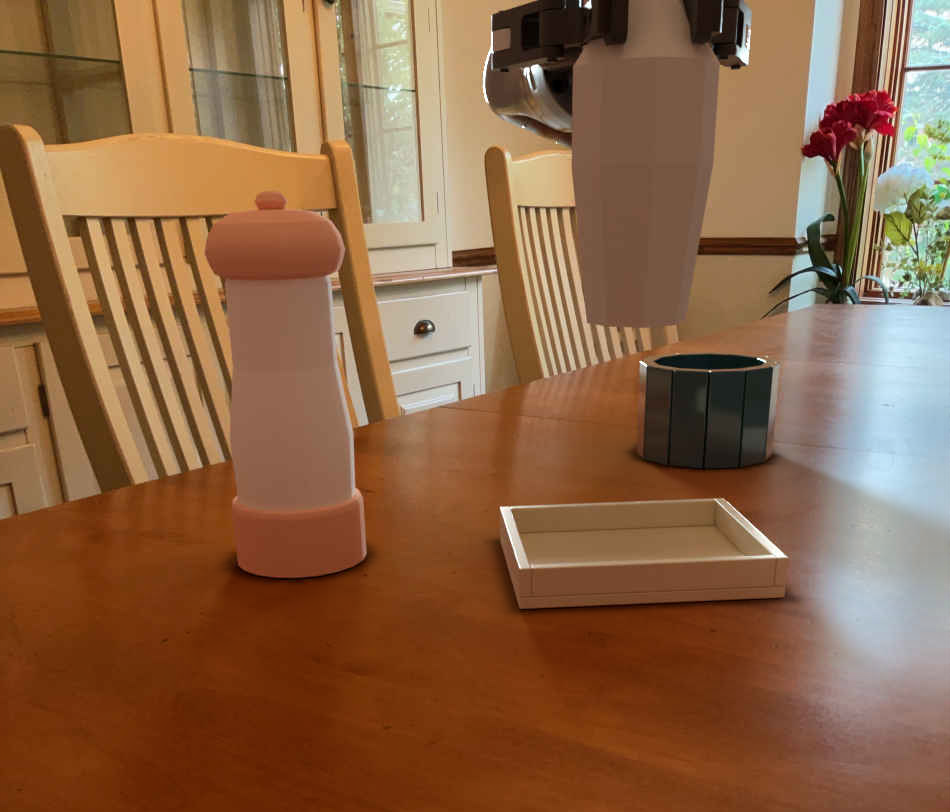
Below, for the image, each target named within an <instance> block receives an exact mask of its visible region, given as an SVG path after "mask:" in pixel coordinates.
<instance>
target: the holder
mask: <svg viewBox="0 0 950 812" xmlns="http://www.w3.org/2000/svg"><path fill="white" fill-rule="evenodd" d="M780 367H781V361H779V360H777V359H774V358H772V357H769V356H765V355H758V354H757V355H756V354H750V353H740V352H721V351H720V352H717V351H710V352H708V351H700V352H699V351H697V352H695V351H693V352H677V353H676V352H674V353H665V354H658V355H652V356H651V355H650V356H648V357H645V358H644V359H641V360H639V374H638V375H639V378H638V405H637V430H636V431H637V432H636V453H637V455H639V456H640V457H641V458H642V459H643V460H644V461H647V462H648V461H649V462H652V463H656V464H660V465H664V466H670V467H675V468H689V469H700V470H702V469H704V470H711V469H713V470H715V469H737V468H744V467H749V466H753V465H759V464H763V463H765V462H766V461H767V460H768V459H769V458H770V457H771V456H772V455H773V448H774V447H773V446H774V435H775V434H774V433H775V425H776V423H775V422H776V414H777V413H776V412H777V401H778V389H779V380H780V379H779V378H780V377H779V375H780Z"/></svg>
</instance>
